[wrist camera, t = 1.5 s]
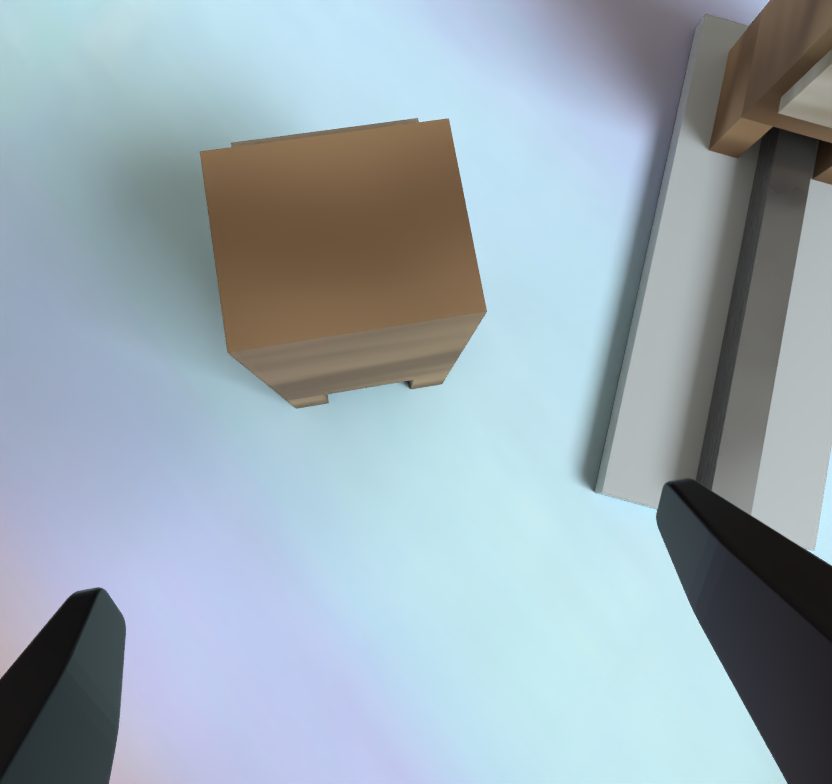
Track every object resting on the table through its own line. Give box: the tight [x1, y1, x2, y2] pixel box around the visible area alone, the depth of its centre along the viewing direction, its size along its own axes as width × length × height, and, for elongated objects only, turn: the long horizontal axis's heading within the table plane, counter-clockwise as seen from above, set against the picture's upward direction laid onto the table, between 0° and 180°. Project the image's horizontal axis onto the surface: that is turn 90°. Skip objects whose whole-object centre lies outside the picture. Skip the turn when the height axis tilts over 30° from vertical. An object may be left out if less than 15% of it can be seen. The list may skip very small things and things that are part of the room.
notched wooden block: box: [200, 118, 487, 408], centre depth 18 cm, size 5×6×10 cm
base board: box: [595, 14, 832, 550], centre depth 24 cm, size 20×8×1 cm, turn 165°
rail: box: [696, 127, 818, 515], centre depth 23 cm, size 19×2×1 cm, turn 165°
